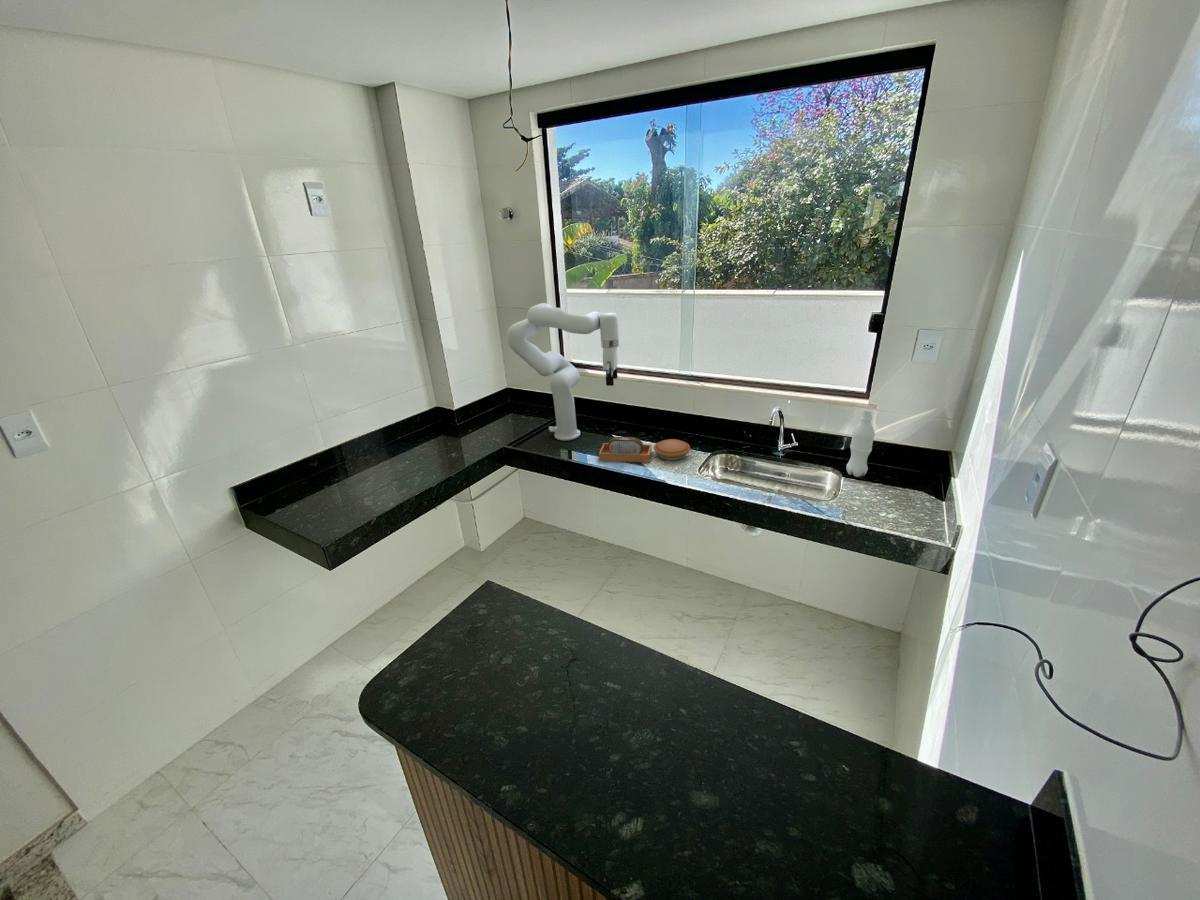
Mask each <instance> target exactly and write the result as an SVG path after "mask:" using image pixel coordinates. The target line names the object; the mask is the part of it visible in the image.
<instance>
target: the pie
mask: <svg viewBox="0 0 1200 900" xmlns="http://www.w3.org/2000/svg"><path fill="white" fill-rule="evenodd" d="M653 450H654V451H655V453H656V454H657V455H658V457H659V458H660V459H662V460H664V461H679V460H682V459H684V458H685V456H687V454H688V453H689V452H690V451H691V445H690V444H689V443H688V442H686V441H684V440H680V439H677V438H676V439H675V438H670V439H664V440H663V439H662V440H661V441H657V442H656V443H655V444H654V446H653Z"/></svg>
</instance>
